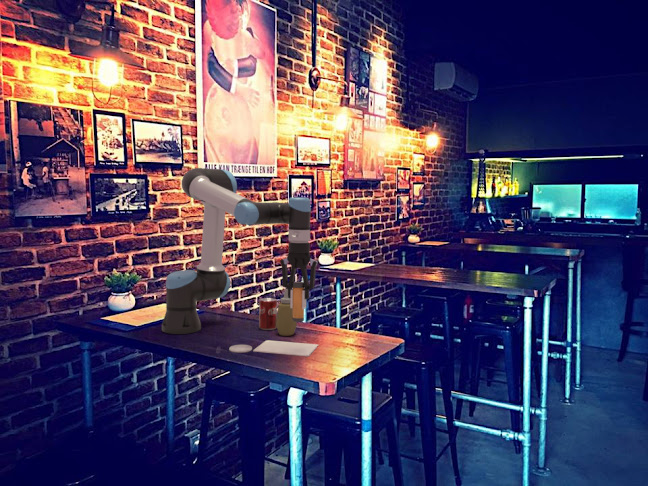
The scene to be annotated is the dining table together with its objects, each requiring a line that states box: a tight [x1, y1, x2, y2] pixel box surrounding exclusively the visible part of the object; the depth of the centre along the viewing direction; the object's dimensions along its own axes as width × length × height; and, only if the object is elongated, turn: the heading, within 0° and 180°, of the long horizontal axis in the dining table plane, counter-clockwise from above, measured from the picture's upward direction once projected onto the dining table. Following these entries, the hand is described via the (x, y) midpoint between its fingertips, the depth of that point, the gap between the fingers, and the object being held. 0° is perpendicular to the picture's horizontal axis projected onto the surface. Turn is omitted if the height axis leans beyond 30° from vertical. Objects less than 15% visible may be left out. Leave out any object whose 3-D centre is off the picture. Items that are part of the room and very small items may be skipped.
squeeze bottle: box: [276, 288, 298, 337], centre depth 210 cm, size 8×8×18 cm
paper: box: [252, 339, 319, 357], centre depth 191 cm, size 20×14×1 cm
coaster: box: [229, 344, 253, 354], centre depth 189 cm, size 8×8×1 cm
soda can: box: [258, 297, 278, 331], centre depth 220 cm, size 7×7×12 cm
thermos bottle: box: [292, 281, 305, 323], centre depth 189 cm, size 4×4×14 cm
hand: (298, 307), depth 189 cm, fingers closed on thermos bottle, 3 cm apart
